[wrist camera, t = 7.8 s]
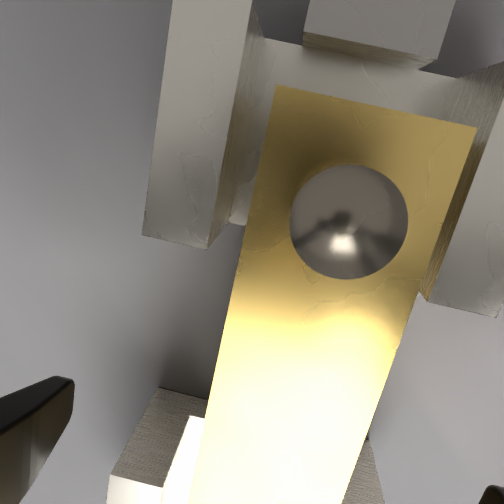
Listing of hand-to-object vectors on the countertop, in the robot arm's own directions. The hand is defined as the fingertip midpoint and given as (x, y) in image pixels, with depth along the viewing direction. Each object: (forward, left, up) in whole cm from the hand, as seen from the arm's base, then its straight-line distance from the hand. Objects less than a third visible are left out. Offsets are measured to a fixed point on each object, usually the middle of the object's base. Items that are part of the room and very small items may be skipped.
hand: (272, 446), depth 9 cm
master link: (0, 0, -4) cm, 4 cm away
